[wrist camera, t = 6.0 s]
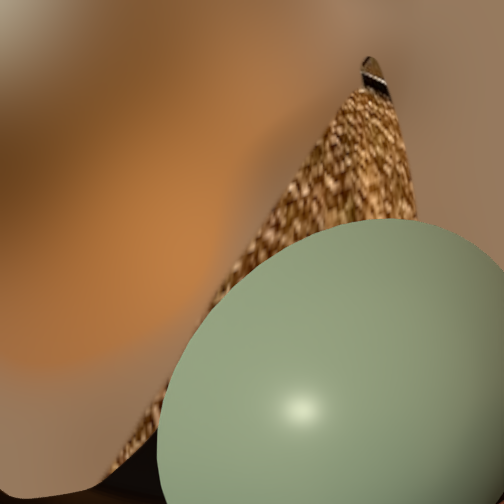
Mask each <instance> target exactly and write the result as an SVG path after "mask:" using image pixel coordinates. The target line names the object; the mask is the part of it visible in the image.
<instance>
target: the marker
mask: <svg viewBox="0 0 504 504" xmlns="http://www.w3.org/2000/svg"><path fill="white" fill-rule="evenodd" d="M157 463H158V470H159V476H160V482H161V487H162V490H163V493H164V496H165V499H166V502H167V504H496V502H497V501H498V500H499V498H500V497H501V495H502V494H503V492H504V272H503V270H502V269H501V268H500V267H499V266H498V265H497V264H496V263H495V262H494V261H493V260H492V259H491V258H490V257H489V256H488V255H487V254H486V253H484V252H483V251H482V250H480V249H479V248H478V247H477V246H475V245H474V244H472V243H471V242H469V241H467V240H466V239H464V238H462V237H461V236H459V235H457V234H455V233H453V232H450V231H448V230H445V229H443V228H440V227H438V226H435V225H431V224H427V223H423V222H418V221H413V220H402V219H373V220H364V221H358V222H353V223H348V224H343V225H339V226H336V227H333V228H330V229H327V230H324V231H321V232H318V233H315V234H313V235H311V236H309V237H307V238H305V239H303V240H300V241H298V242H296V243H294V244H292V245H290V246H288V247H286V248H285V249H283V250H282V251H280V252H279V253H277V254H275V255H274V256H272V257H271V258H269V259H268V260H266V261H265V262H263V263H262V264H260V265H259V266H258V267H256V268H255V269H254V270H253V271H252V272H250V273H249V274H248V275H247V276H246V277H245V278H243V279H242V280H241V281H240V282H239V283H237V284H236V285H235V286H234V287H233V288H232V289H231V290H230V291H229V292H228V293H227V294H226V296H225V297H224V298H223V299H222V300H221V301H220V302H219V303H218V304H217V305H216V306H215V307H214V308H213V310H212V311H211V312H210V313H209V314H208V316H207V317H206V319H205V320H204V321H203V323H202V324H201V326H200V327H199V328H198V330H197V331H196V333H195V334H194V335H193V337H192V338H191V340H190V341H189V343H188V345H187V347H186V349H185V351H184V353H183V354H182V356H181V358H180V360H179V362H178V364H177V366H176V368H175V370H174V372H173V375H172V378H171V381H170V383H169V386H168V389H167V392H166V394H165V397H164V400H163V405H162V410H161V415H160V420H159V426H158V435H157Z"/></svg>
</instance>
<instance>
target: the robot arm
mask: <svg viewBox="0 0 504 504" xmlns="http://www.w3.org/2000/svg"><path fill="white" fill-rule="evenodd" d="M157 435H158V428H157V429H156V431H155V432H154V433H153V434H152V435H151V436H150V438H149V439H148V440H147V441H146V442H145V443H144V444H143V445H142V446H141V447H140V448H139V449H138V450H137V451H136V452H135V453H134V454H133V455H132V456H131V457H130V458H129V459H127V460H126V461H125V462H124V463H123V464H122V465H121V466H120V467H118V468H117V469H116V470H115V471H114V472H113V473H112V474H110V475H109V476H108V477H107V478H106V479H105V480H103V481H102V482H101V483H99V484H97V485H96V486H94V487H92V488H89V489H87V490H83V491H79V492H73V493H68V494H63V495H56V496H49V497H41V498H32V499H20V498H15V497H11V496H9V495H8V494H6V493H5V492H3V491H2V490H1V489H0V504H167V502H166V499H165V496H164V493H163V490H162V487H161V482H160V476H159V470H158V463H157ZM496 504H504V492H503V494H502V495H501V497H500V498H499V500H498V501H497V502H496Z"/></svg>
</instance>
